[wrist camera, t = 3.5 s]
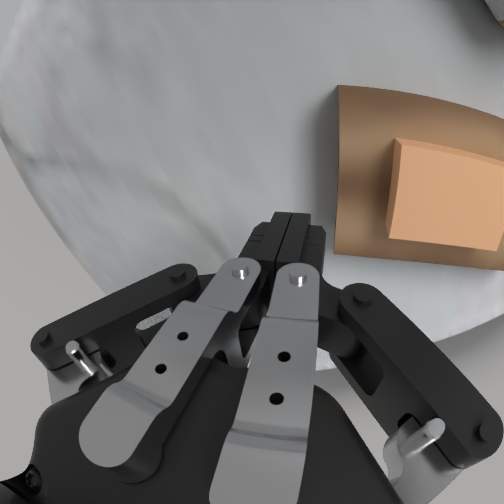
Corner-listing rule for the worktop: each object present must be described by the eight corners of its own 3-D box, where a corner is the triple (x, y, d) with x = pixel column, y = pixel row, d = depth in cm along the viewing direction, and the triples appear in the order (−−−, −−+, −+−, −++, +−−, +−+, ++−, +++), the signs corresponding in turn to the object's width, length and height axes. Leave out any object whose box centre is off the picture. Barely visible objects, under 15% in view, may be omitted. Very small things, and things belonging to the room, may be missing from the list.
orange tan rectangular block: (394, 137, 14) (401, 144, 12) (505, 162, 11) (519, 172, 10) (385, 222, 17) (389, 238, 16) (486, 236, 15) (496, 251, 13)
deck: (337, 85, 16) (338, 85, 13) (540, 135, 11) (566, 149, 7) (335, 227, 23) (333, 253, 20) (513, 248, 17) (528, 273, 14)
